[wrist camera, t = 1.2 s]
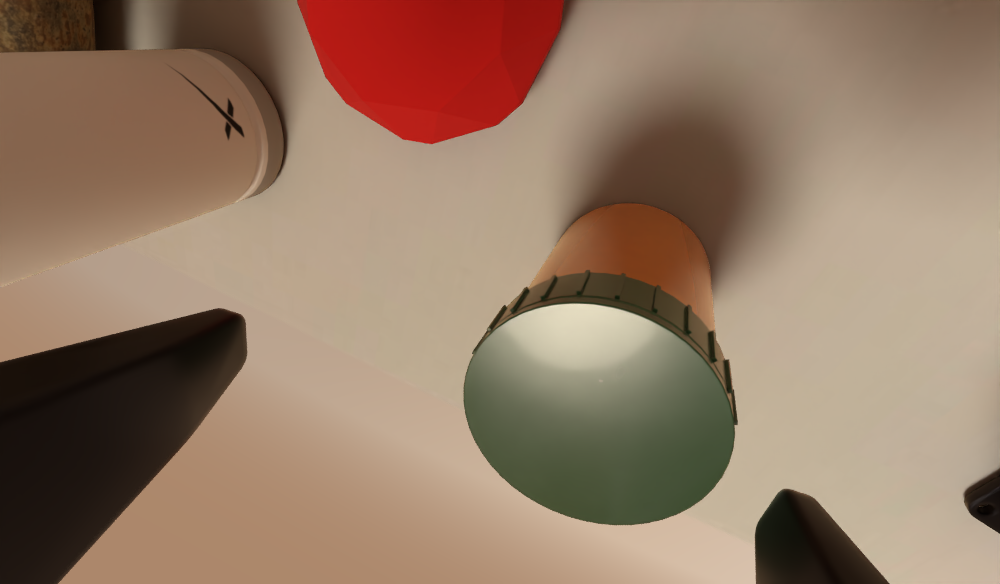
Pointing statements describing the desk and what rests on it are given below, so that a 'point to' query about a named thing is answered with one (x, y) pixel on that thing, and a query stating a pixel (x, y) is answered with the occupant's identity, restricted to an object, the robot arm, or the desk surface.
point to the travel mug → (123, 148)
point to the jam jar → (637, 253)
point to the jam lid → (602, 399)
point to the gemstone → (432, 59)
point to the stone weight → (46, 25)
